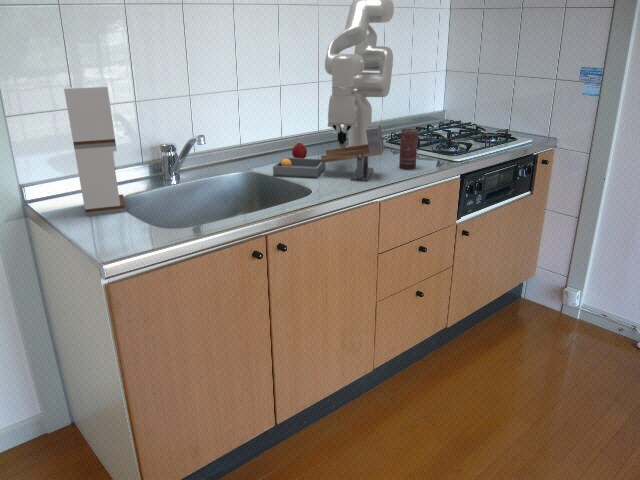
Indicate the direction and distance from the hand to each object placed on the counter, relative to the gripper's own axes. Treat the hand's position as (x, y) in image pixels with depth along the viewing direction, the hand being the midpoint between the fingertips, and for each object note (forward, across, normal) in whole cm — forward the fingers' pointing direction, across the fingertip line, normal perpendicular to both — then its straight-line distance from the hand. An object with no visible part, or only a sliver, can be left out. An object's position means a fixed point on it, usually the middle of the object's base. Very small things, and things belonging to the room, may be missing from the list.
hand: (342, 143), depth 203 cm
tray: (+9, +13, +11) cm, 19 cm away
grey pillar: (+10, +60, +62) cm, 86 cm away
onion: (+9, +18, -5) cm, 21 cm away
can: (+9, -24, -3) cm, 26 cm away
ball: (+6, +19, +11) cm, 22 cm away
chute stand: (+9, -9, +11) cm, 17 cm away
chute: (+2, -6, +7) cm, 9 cm away
